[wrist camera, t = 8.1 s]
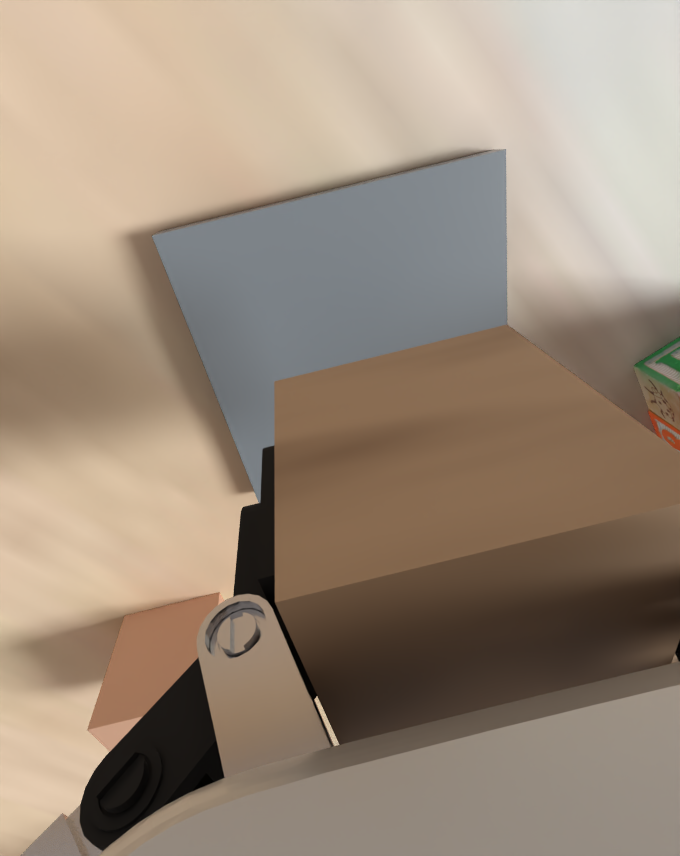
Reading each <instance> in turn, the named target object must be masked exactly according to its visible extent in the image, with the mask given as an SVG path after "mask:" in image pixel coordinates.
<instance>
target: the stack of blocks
mask: <svg viewBox="0 0 680 856" xmlns="http://www.w3.org/2000/svg"><path fill="white" fill-rule="evenodd" d="M634 371H635V374H636V376H637V379H638V381H639V384H640V387H641V389H642V392H643V395H644V398H645V400H646V403H647V406H648V408H649V410H648V413H649V416H650V418H651V421H652V424H653V426H654V429H655V431H656V434H657V436H658V437H660V438H661V439H662V440H664V441H665V442H666V443H668V444H669V445H671V446H672V447H673V448H675V449H676V450H677V451H679V452H680V337H679V338H677V339H676V340H674V341H673V342H671V343H669V344H668V345H666V346H664V347H663V348H661V349H660V350H658V351H656V352H655V353H653V354H652V355H650V356H648V357H647V358H645V359H644V360H642V361H640V362H639V363H637V364H635V365H634Z"/></svg>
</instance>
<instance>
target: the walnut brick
mask: <svg viewBox="0 0 680 856" xmlns="http://www.w3.org/2000/svg"><path fill="white" fill-rule="evenodd" d="M274 455H275V604H276V606H277V608H278V611H279V613H280V615H281V617H282V619H283V622H284V624H285V626H286V628H287V630H288V632H289V635H290V637H291V639H292V641H293V643H294V646H295V648H296V650H297V652H298V654H299V657H300V659H301V661H302V663H303V665H304V668H305V670H306V672H307V674H308V676H309V679H310V681H311V683H312V685H313V687H314V690H315V692H316V694H317V696H318V698H319V701H320V703H321V705H322V707H323V709H324V711H325V714H326V716H327V718H328V720H329V722H330V725H331V727H332V729H333V731H334V733H335V736H336V738H337V740H338V742H339V744H340V745H341V744H345V743H349V742H353V741H357V740H361V739H365V738H369V737H373V736H377V735H381V734H385V733H389V732H393V731H397V730H401V729H405V728H409V727H413V726H417V725H421V724H425V723H429V722H433V721H437V720H441V719H445V718H449V717H453V716H457V715H461V714H466V713H470V712H474V711H478V710H482V709H486V708H490V707H494V706H498V705H502V704H506V703H510V702H514V701H519V700H523V699H527V698H531V697H535V696H539V695H543V694H547V693H551V692H556V691H560V690H564V689H568V688H572V687H576V686H580V685H584V684H589V683H593V682H597V681H601V680H605V679H609V678H613V677H618V676H622V675H626V674H630V673H634V672H638V671H642V670H646V669H651V668H655V667H659V666H663V665H667V664H671V663H672V660H673V657H674V654H675V652H676V649H677V646H678V643H679V640H680V452H679V451H677V450H676V449H675V448H673V447H672V446H671V445H669V444H668V443H666V442H665V441H664V440H662V439H661V438H660V437H658V436H657V435H656V434H654V433H653V432H652V431H650V430H649V429H648V428H646V427H645V426H643V425H642V424H641V423H639V422H638V421H637V420H635V419H634V418H633V417H631V416H630V415H629V414H627V413H626V412H625V411H623V410H622V409H620V408H619V407H618V406H616V405H615V404H614V403H612V402H611V401H610V400H608V399H607V398H606V397H604V396H603V395H602V394H600V393H599V392H598V391H596V390H595V389H593V388H592V387H591V386H589V385H588V384H587V383H585V382H584V381H583V380H581V379H580V378H579V377H577V376H576V375H575V374H573V373H572V372H570V371H569V370H568V369H566V368H565V367H564V366H562V365H561V364H560V363H558V362H557V361H556V360H554V359H553V358H552V357H550V356H549V355H547V354H546V353H545V352H543V351H542V350H541V349H539V348H538V347H537V346H535V345H534V344H533V343H531V342H530V341H529V340H527V339H526V338H524V337H523V336H522V335H520V334H519V333H518V332H516V331H515V330H514V329H512V328H511V327H510V326H508V325H503V326H499V327H495V328H490V329H486V330H482V331H478V332H474V333H470V334H466V335H462V336H458V337H454V338H450V339H446V340H441V341H437V342H433V343H429V344H425V345H421V346H417V347H413V348H409V349H405V350H401V351H397V352H392V353H388V354H384V355H380V356H376V357H372V358H368V359H364V360H360V361H356V362H352V363H348V364H343V365H339V366H335V367H331V368H327V369H323V370H319V371H315V372H311V373H307V374H303V375H299V376H294V377H290V378H286V379H282V380H278V381H274Z"/></svg>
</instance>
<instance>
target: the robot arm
mask: <svg viewBox="0 0 680 856" xmlns="http://www.w3.org/2000/svg"><path fill="white" fill-rule="evenodd" d="M197 652H198V658H197V659H196V660H195V661H194V662H193V664H192V665H191V666H190V667H189V668H188V669H187V670H186V671H185V672H184V673H183V674H182V675H181V676H180V677H179V678H178V680H177V681H176V682H175V683H174V684H173V685H172V686H171V687H170V688H169V689H168V690H167V691H166V692H165V693H164V695H163V696H162V697H161V698H160V699H159V700H158V701H157V702H156V703H155V704H154V705H153V706H152V707H151V708H150V709H149V711H148V712H147V713H146V714H145V715H144V716H143V717H142V718H141V719H140V720H139V721H138V722H137V723H136V724H135V725H134V727H133V728H132V729H131V730H130V731H129V732H128V733H127V734H126V735H125V736H124V737H123V738H122V739H121V740H120V741H119V743H118V744H117V745H116V746H115V747H114V748H113V749H112V750H111V751H110V752H109V753H108V754H107V755H106V757H105V758H104V759H103V760H102V762H101V763H100V764H99V766H98V767H97V768H96V769H95V771H94V773H93V774H92V776H91V778H90V780H89V782H88V784H87V786H86V788H85V791H84V794H83V798H82V801H81V805H80V806H79V807H78V808H77V809H76V810H75V811H74V812H73V813H72V814H71V815H70V816H69V817H67V816H66V815H64V814H63V813H62V814H61V815H60V816H59V817H58V818H57V819H56V820H55V821H54V822H53V823H52V824H51V825H50V826H49V827H48V828H47V829H46V830H45V831H44V832H43V833H42V834H41V835H40V836H39V837H38V838H37V839H36V840H35V841H34V842H33V844H32V845H31V846H30V847H29V848H28V849H27V850H26V851H25V852H24V853H23V854H22V855H21V856H680V640H679V643H678V646H677V649H676V652H675V654H674V657H673V660H672V663H671V664H667V665H663V666H659V667H655V668H651V669H646V670H642V671H638V672H634V673H630V674H626V675H622V676H618V677H613V678H609V679H605V680H601V681H597V682H593V683H589V684H584V685H580V686H576V687H572V688H568V689H564V690H560V691H556V692H551V693H547V694H543V695H539V696H535V697H531V698H527V699H523V700H519V701H514V702H510V703H506V704H502V705H498V706H494V707H490V708H486V709H482V710H478V711H474V712H470V713H466V714H461V715H457V716H453V717H449V718H445V719H441V720H437V721H433V722H429V723H425V724H421V725H417V726H413V727H409V728H405V729H401V730H397V731H393V732H389V733H385V734H381V735H377V736H373V737H369V738H365V739H361V740H357V741H353V742H349V743H345V744H341V745H338V746H334V744H333V742H332V739H331V737H330V735H329V732H328V730H327V728H326V725H325V723H324V721H323V718H322V716H321V714H320V711H319V709H318V707H317V704H316V702H315V700H314V699H315V698H316V696H317V694H316V692H315V690H314V687H313V685H312V683H311V681H310V679H309V676H308V674H307V672H306V670H305V668H304V665H303V663H302V661H301V659H300V657H299V654H298V652H297V650H296V648H295V646H294V643H293V641H292V639H291V637H290V635H289V632H288V630H287V628H286V626H285V624H284V622H283V619H282V617H281V615H280V613H279V611H278V608H277V606H276V604H275V455H274V446H270V447H266V448H263V450H262V473H261V500H260V503H258V504H254V505H250V506H245V507H243V508H242V510H241V517H240V528H239V540H238V551H237V562H236V573H235V584H234V596H233V597H232V598H229V599H226V600H225V601H223V602H222V603H220V604H219V605H217V606H216V607H215V608H214V609H213V610H212V611H211V612H210V613H209V614H208V615H207V616H206V618H205V620H204V621H203V623H202V624H201V626H200V629H199V632H198V635H197Z"/></svg>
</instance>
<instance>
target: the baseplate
mask: <svg viewBox="0 0 680 856" xmlns="http://www.w3.org/2000/svg"><path fill="white" fill-rule="evenodd" d="M152 238H153V240H154V243H155V245H156V248H157V250H158V253H159V255H160V258H161V260H162V263H163V265H164V268H165V270H166V273H167V275H168V278H169V280H170V283H171V285H172V288H173V290H174V293H175V295H176V298H177V300H178V303H179V305H180V308H181V310H182V312H183V315H184V317H185V320H186V322H187V325H188V327H189V330H190V332H191V335H192V337H193V340H194V342H195V345H196V347H197V350H198V352H199V355H200V357H201V360H202V362H203V365H204V367H205V370H206V372H207V375H208V377H209V380H210V382H211V385H212V387H213V390H214V392H215V395H216V397H217V400H218V402H219V405H220V407H221V410H222V412H223V415H224V417H225V420H226V422H227V425H228V427H229V430H230V432H231V435H232V437H233V440H234V442H235V444H236V447H237V449H238V452H239V454H240V457H241V459H242V462H243V464H244V467H245V469H246V472H247V474H248V477H249V479H250V482H251V484H252V487H253V489H254V492H255V494H256V497H257V499H258V502H259V503H260V500H261V473H262V450H263V448H266V447H270V446H274V381H278V380H282V379H286V378H290V377H294V376H299V375H303V374H307V373H311V372H315V371H319V370H323V369H327V368H331V367H335V366H339V365H343V364H348V363H352V362H356V361H360V360H364V359H368V358H372V357H376V356H380V355H384V354H388V353H392V352H397V351H401V350H405V349H409V348H413V347H417V346H421V345H425V344H429V343H433V342H437V341H441V340H446V339H450V338H454V337H458V336H462V335H466V334H470V333H474V332H478V331H482V330H486V329H490V328H495V327H499V326H503V325H507V236H506V149H502V150H491V151H486V152H482V153H478V154H474V155H470V156H466V157H462V158H458V159H454V160H450V161H446V162H442V163H437V164H433V165H429V166H425V167H421V168H417V169H413V170H409V171H405V172H401V173H397V174H392V175H388V176H384V177H380V178H376V179H372V180H368V181H364V182H360V183H356V184H352V185H347V186H343V187H339V188H335V189H331V190H327V191H323V192H319V193H315V194H311V195H307V196H302V197H298V198H294V199H290V200H286V201H282V202H278V203H274V204H270V205H266V206H262V207H257V208H253V209H249V210H245V211H241V212H237V213H233V214H229V215H225V216H221V217H217V218H212V219H208V220H204V221H200V222H196V223H192V224H188V225H184V226H180V227H176V228H172V229H168V230H163V231H159V232H157V233H156V234H154V235H152Z"/></svg>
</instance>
